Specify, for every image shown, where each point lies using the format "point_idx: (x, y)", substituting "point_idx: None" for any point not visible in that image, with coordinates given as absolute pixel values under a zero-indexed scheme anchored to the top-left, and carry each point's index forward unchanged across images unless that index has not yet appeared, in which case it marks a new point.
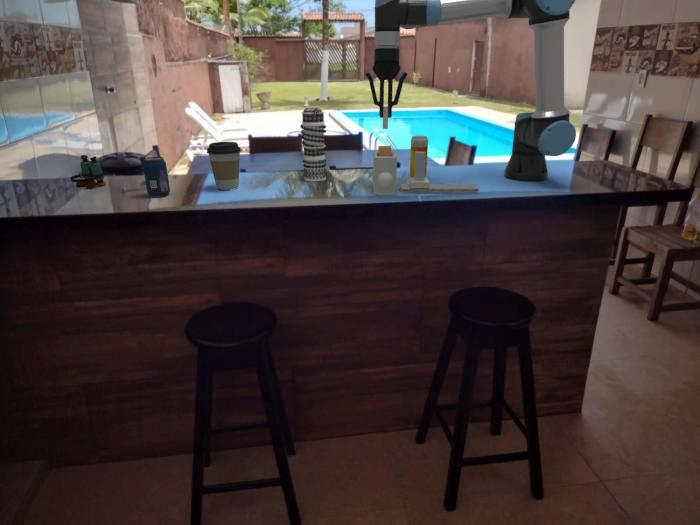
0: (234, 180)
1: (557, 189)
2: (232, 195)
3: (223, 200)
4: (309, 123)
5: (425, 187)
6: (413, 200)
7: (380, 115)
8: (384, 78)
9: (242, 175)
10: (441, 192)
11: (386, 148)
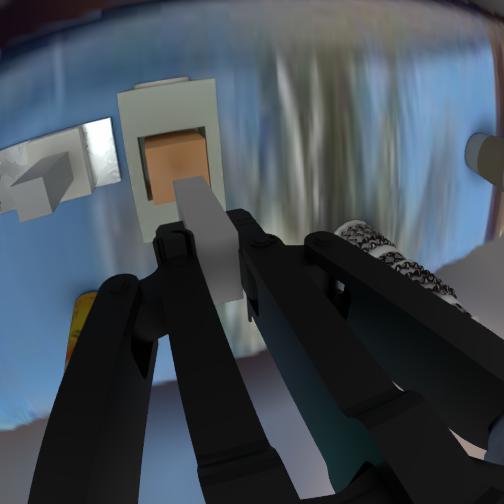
0: (480, 143)
1: None
2: (468, 96)
3: (473, 64)
4: (452, 301)
5: (40, 137)
6: (75, 47)
7: (243, 216)
8: (383, 494)
9: (453, 245)
10: (5, 148)
11: (168, 144)
